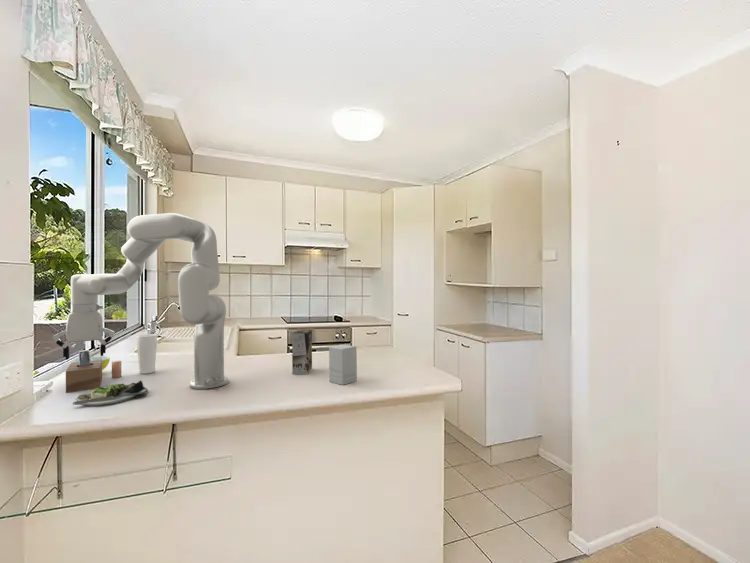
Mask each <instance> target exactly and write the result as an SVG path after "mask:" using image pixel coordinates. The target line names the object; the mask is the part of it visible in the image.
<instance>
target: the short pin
mask: <svg viewBox="0 0 750 563" xmlns="http://www.w3.org/2000/svg"><path fill="white" fill-rule="evenodd" d="M119 378H122V360H114V361H113V360H112V361H111V379H119Z"/></svg>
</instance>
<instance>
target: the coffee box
mask: <svg viewBox="0 0 750 563" xmlns="http://www.w3.org/2000/svg"><path fill="white" fill-rule="evenodd" d="M291 336H292V338H291V339H292V340H291V344H292V345H291V346H292V347H291V348H292V349H291V350H292V351H291V352H292V353H291V356H292V357H291V358H292V360H291V362H292V364H291V365H292V367H291V370H292V372H291V374H292V375H308V374H309V373H310V372H311V371H312V369H313V340H312V339H313V330H311V329H308V330H307V329H306V330H303V329H302V330H295V331H294V332H292V335H291Z"/></svg>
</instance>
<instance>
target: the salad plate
mask: <svg viewBox="0 0 750 563" xmlns="http://www.w3.org/2000/svg"><path fill="white" fill-rule="evenodd" d="M145 393H146V394H147V393H149V389H148V388H147V387H145V386H144V384H143V381H142V380H138V381H137V382H131V383H129V384H128V383H127V384H125V383H123V382H122V383H114V384H111V385H107V386H106V387H105V386H102V387H101V386H100V388H95V389H92V391H88V392H84V393H81V394H78V396H76V397H75V400H76V401H74V402H72V406H74V405H77V406H78V405H79V406H80V405H82V406H83V405H84V406H86V407H92V406H107V405H114V404H117V403H122V402H126V401H130V400H134V399H137V397H138V398H139V397H140V396H141V397H143V396H144V394H145ZM146 394H145V395H146ZM142 395H143V396H142ZM133 398H134V399H133ZM129 399H130V400H129Z"/></svg>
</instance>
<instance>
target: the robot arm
mask: <svg viewBox="0 0 750 563" xmlns="http://www.w3.org/2000/svg"><path fill="white" fill-rule="evenodd" d="M126 230H127V234H128V235H129V236H130V238H129V239H128V240H127V241H125V243H124V244H123V245H122V246H121V248H120V252H121V253H122V254H121V255H123V257H124V258H126V261H125V263H124V265H123V266H122V267H121V268H120V269H119V270H118V271H117V272H116V273H93V274H90V273H89V274H85V273H84V274H83V273H81V274H77V273H76V274H74V275H72V276H71V277H70V312H69V313H68V314H67V319H66V328H65V330H63V331H60V332H58V333H56V334H54V335H53V336H51V339H53V341H54V342H55V344H57V345H58V346H59V347H61V348H62V353H63V354H62V357H63V358H65V360H66V361H67V360H69V359H70V347H69V345H70V344H71V343H77V342H78V343H79V342H91V341H92V342H93V341H97V342H99V343H101V344H100V347H99V348H100V351H99V352H100V353H99V354H100V357H104V354H106V348H107V347H106V346H107V343H108V342H110V341H111V340H112V339H113V337H114V335H115V333H116V332H115V331H114V330H111V329H109V328H106V327H104V324H103V316H102V313H101V311H99V310H102V309H104V305H103V304H99V296H105V295H120V294H123V293H125V292H127V291H128V290H130V289H131V288H132V287H133V286H134V284H136V282H138V281H139V279H140V278H141V276H142V274H143V271H144V270H145V269H144V268H145V263H146V262H147V260H149V259H150V258H151V256H152V255H153V254H154V253H155V252H156V251H157V250H158V249H159V248H160V247H161V246H162V245H163V244H164V242H166V240H167V239H169V240H172V239H173V240H179V241H185V242H190V243H192V246H191V249H190V250H191V251H190V256H191V263H189V264H186V265H184V266H183V267H182V268H181V270H180V271H179V273H178V275H177V276H178V278H177V287H178V288H177V289H178V300H179V309H180V314H181V317H182V318H183V320H184V321H185V322H186V323H188V324H190V325H195V328H194V337H193V339H194V340H193V342H194V343H193V347H194V348H193V350H194V351H193V352H194V354H193V356H194V357H193V358H194V360H193V361H194V364H193V366H194V379H193V380H191V381H190V382H189V387H190V388H191V389H194V390H195V389H196V390H205V389H206V390H209V389H213V388H219V387H223V386H225V385H226V384H229V382H230V380H229V377H226V376H225V348H224V347H225V321H226V316H227V309H226V308H227V307H226V303H225V301H224V300H223V299H222V298H221V297H220V296H218V295H216V294H209V291H213V290H215V289H216V288H218V287H219V285H220V282H221V278H220V265H219V256H218V244H217V243H218V241H217V236H216V233H215V231H214V229H213V228H212V227H211V226H210V225H209V224H208V223H205V222H203V221H201V220H198V219H196V218H193V217H190V216H186V215H183V214H180V213H177V212H167V213H152V214H151V213H150V214H142V215H137V216H135V217H133V218H131V220H130V221H129V222H128V224H127V226H126ZM104 333H107V334H109V335H108V336H107V337H106V338H103V336H104ZM63 336H65V339H66V340H65V342H64V341H63V340H61V339H60V337H63Z"/></svg>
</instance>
